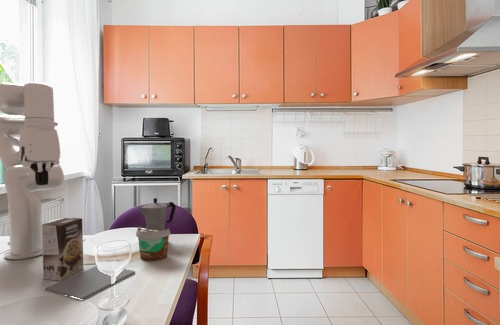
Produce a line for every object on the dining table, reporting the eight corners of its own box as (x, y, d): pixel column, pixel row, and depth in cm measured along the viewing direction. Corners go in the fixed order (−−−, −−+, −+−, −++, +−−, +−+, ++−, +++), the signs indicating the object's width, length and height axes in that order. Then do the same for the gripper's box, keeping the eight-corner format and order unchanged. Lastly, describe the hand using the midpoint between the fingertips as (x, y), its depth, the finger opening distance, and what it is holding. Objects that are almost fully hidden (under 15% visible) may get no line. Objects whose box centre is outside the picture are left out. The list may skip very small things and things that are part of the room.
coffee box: (61, 281, 88) (59, 225, 87) (42, 279, 89) (40, 224, 88) (84, 268, 97) (83, 217, 96) (67, 266, 98) (65, 216, 97)
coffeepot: (144, 250, 113) (144, 202, 112) (134, 244, 120) (133, 198, 119) (181, 241, 124) (181, 197, 123) (170, 236, 131) (169, 194, 130)
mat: (45, 289, 83) (45, 287, 83) (101, 265, 99) (101, 263, 99) (81, 300, 77) (81, 298, 77) (135, 273, 94) (134, 271, 94)
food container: (128, 260, 104) (127, 231, 103) (139, 254, 110) (138, 226, 109) (161, 264, 101) (161, 233, 100) (170, 257, 107) (170, 228, 106)
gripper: (55, 126, 102) (57, 181, 103) (4, 123, 89) (7, 187, 90) (71, 125, 99) (73, 182, 100) (20, 122, 86) (23, 188, 87)
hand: (42, 184), depth 95 cm, fingers closed
